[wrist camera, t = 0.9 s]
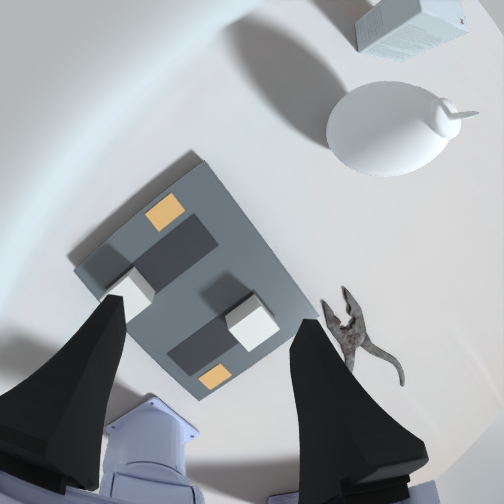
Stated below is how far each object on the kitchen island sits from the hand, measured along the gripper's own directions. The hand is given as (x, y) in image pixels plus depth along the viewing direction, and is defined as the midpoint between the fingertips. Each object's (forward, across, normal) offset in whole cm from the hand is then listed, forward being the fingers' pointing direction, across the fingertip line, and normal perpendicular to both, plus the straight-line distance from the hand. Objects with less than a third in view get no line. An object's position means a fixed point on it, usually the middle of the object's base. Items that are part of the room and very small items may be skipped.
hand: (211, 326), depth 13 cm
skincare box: (+28, -14, -15) cm, 35 cm away
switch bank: (+15, +1, +12) cm, 19 cm away
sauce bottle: (+23, -12, -3) cm, 26 cm away
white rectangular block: (+13, +7, +11) cm, 18 cm away
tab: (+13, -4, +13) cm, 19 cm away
